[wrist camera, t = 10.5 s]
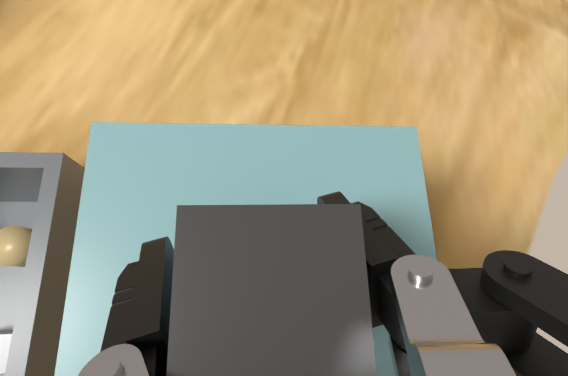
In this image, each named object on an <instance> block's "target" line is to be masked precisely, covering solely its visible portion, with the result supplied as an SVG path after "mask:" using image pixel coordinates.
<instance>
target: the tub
mask: <svg viewBox="0 0 568 376" xmlns="http://www.w3.org/2000/svg"><path fill="white" fill-rule="evenodd" d="M84 171H85V168H84V167H82V166H81V165H79V164H78V163H77V162H75V161H74V160H72V159H71V158H70V157H68V156H67V155H65V154H64V153H13V152H0V376H54V375H55V368H56V361H57V354H58V348H59V341H60V334H61V327H62V320H63V313H64V307H65V300H66V293H67V286H68V279H69V273H70V266H71V259H72V252H73V245H74V239H75V232H76V225H77V218H78V211H79V205H80V198H81V191H82V184H83V177H84Z"/></svg>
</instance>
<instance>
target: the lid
mask: <svg viewBox="0 0 568 376" xmlns="http://www.w3.org/2000/svg"><path fill="white" fill-rule="evenodd" d="M338 191H340V192H341V193H342V194H343V195H344V196H345V197H346V199H347V200H348V201H349V202H350V203H354V202H358V201H359V202H361V203H363V204H365V205H367V206H369V207H371V208H372V209H373V210H374V211H375V212H376V213H377V214H378V215H379V216H380V218H381V219H383V220H384V221H385V222H386V223H387V224H388V227H389V226H390V228H391V229H392V230H393V231H394V232H395V233H396V234H397V235H398V236H399V237H400V238H401V239H402V240H403V241H404V242H405V243H406V244H407V245H408V246H409V247H410V249H411V250H412V251H413V252H414V253H415V254H416V255H424V256H429V257H431V258H434V259H436V260H437V256H436V250H435V243H434V237H433V230H432V224H431V217H430V211H429V204H428V198H427V191H426V185H425V178H424V172H423V166H422V159H421V153H420V146H419V140H418V133H417V127H383V126H314V125H244V124H175V123H105V122H92V123H91V130H90V136H89V143H88V150H87V157H86V164H85V171H84V177H83V184H82V191H81V198H80V205H79V211H78V218H77V225H76V232H75V239H74V245H73V252H72V259H71V266H70V273H69V279H68V286H67V293H66V300H65V307H64V313H63V320H62V327H61V334H60V341H59V348H58V354H57V361H56V368H55V375H54V376H78V375H79V373H80V371H81V370H82V369H83V367H84V366H85V365H86V364H87V363H88V362H89V361H90V360H91V359H92V358H93V357H95V356H96V355H97V354H99V353H100V350H101V346H102V342H103V338H104V334H105V329H106V325H107V321H108V317H109V313H110V308H111V307H112V300H113V296H114V295H115V292H114V291H115V287H116V283H117V279H118V277H119V275H120V274H121V273H122V271H123V270H124V268H125V267H126V266H127V264H129V263H133V262H136V261H139V257H140V251H141V245H142V243H144V242H148V241H151V240H155V239H159V238H163V237H166V236H167V237H169V239H170V241H171V243H172V246H173V248H174V260H173V276H172V292H171V308H170V324H169V340H168V356H167V372H166V376H396V375H395V371H394V366H393V361H392V357H391V352H390V347H389V333H388V331H387V330H386V328H385V327H384V325H380V326H377V327H374V328H372V318H371V308H370V298H369V287H368V277H367V266H366V256H365V245H364V235H363V225H362V214H361V204H317V198H318V197H319V196H323V195H326V194H330V193H334V192H338Z"/></svg>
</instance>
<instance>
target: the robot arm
mask: <svg viewBox="0 0 568 376" xmlns="http://www.w3.org/2000/svg"><path fill="white" fill-rule="evenodd" d="M317 204H361V214H362V225H363V235H364V245H365V256H366V266H367V277H368V287H369V298H370V308H371V318H372V328H374V327H377V326H380V325H384V327H385V328H386V330H387V331H388V333H389V347H390V352H391V357H392V361H393V366H394V371H395V375H396V376H568V354H567V353H566V352H564V351H563V350H561V349H560V348H558V347H557V346H555V345H554V344H552V343H551V342H549V341H548V340H546V339H545V338H543V337H542V336H540V335H539V334H537V333H536V330H537V327H538V328H540V329H541V330H543V331H544V332H546V333H548V334H549V335H551V336H552V337H554V338H555V339H557V340H558V341H560V342H561V343H563V344H564V345H566V346H567V347H568V274H566V273H564V272H562V271H560V270H558V269H556V268H554V267H552V266H550V265H548V264H546V263H544V262H542V261H540V260H538V259H536V258H534V257H532V256H530V255H527V254H524V253H520V252H516V251H507V250H506V251H496V252H493V253H491V254H489V255H488V256H487V257H486V258H485V260H484V263H483V268H469V269H448V268H447V267H446V266H445V265H444V264H442V263H441V262H440V261H438V260H436V259H434V258H431V257H429V256H424V255H416V254H415V253H414V252H413V251H412V250H411V249H410V247H409V246H408V245H407V244H406V243H405V242H404V241H403V240H402V239H401V238H400V237H399V236H398V235H397V234H396V233H395V232H394V231H393V230H392V229H391V228H390V226H389V227H388V224H387V223H386V222H385V221H384V220H383V219H381V218H380V216H379V215H378V214H377V213H376V212H375V211H374V210H373V209H372V208H371V207H369V206H367V205H365V204H363V203H361V202H359V201H358V202H354V203H350V202H349V201H348V200H347V199H346V197H345V196H344V195H343V194H342V193H341V192H340V191H338V192H334V193H330V194H326V195H323V196H319V197H318V198H317ZM173 260H174V248H173V246H172V243H171V241H170V239H169V237H167V236H166V237H163V238H159V239H155V240H151V241H148V242H144V243H142V245H141V251H140V257H139V261H136V262H133V263H129V264H127V266H126V267H125V268H124V270H123V271H122V273H121V274H120V275H119V277H118V279H117V283H116V287H115V291H114V292H115V295H114V296H113V300H112V307H111V308H110V313H109V317H108V321H107V325H106V329H105V334H104V338H103V342H102V346H101V350H100V353H99V354H97V355H96V356H95V357H93V358H92V359H91V360H90V361H89V362H88V363H87V364H86V365H85V366H84V367H83V369H82V370H81V371H80V373H79V375H78V376H166V372H167V356H168V340H169V324H170V308H171V292H172V276H173Z"/></svg>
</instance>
